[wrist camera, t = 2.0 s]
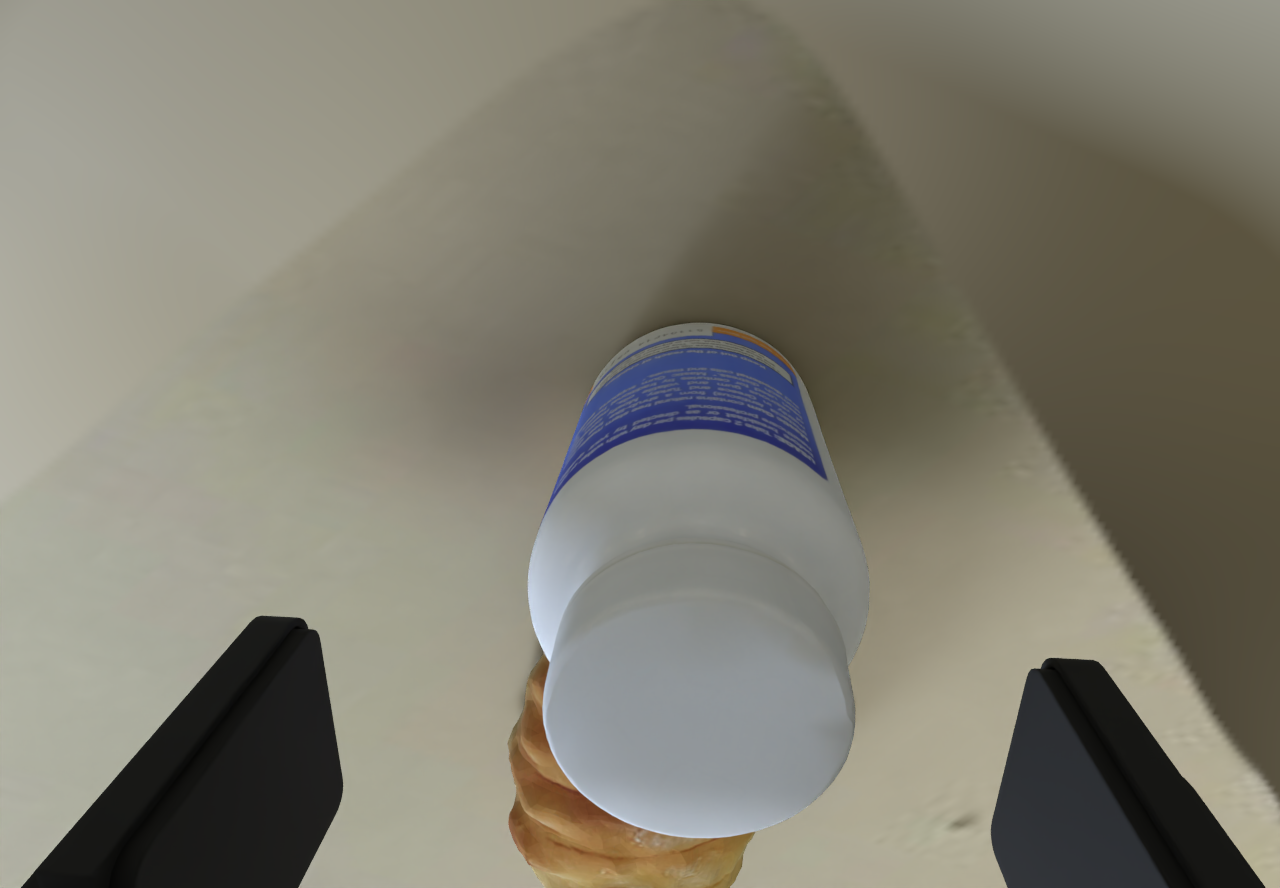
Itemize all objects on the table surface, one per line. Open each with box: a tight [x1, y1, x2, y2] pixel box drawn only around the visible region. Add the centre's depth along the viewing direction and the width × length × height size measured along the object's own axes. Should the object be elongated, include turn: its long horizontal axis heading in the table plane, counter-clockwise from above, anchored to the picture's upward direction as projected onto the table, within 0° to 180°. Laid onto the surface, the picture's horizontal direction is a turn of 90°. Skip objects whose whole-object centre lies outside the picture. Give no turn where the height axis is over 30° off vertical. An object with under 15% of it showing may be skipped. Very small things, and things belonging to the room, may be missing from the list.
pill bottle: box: [528, 323, 870, 838], centre depth 15 cm, size 5×5×10 cm
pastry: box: [508, 652, 755, 888], centre depth 21 cm, size 9×7×4 cm
